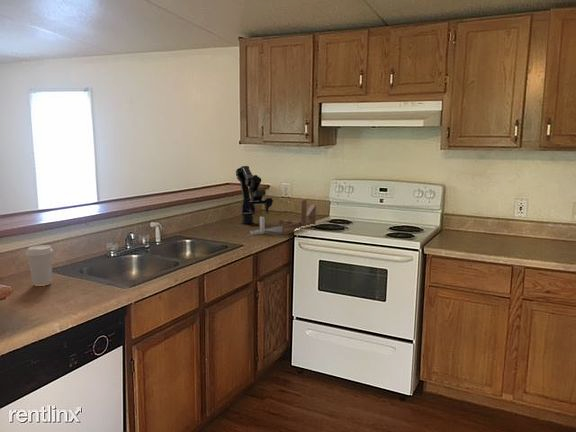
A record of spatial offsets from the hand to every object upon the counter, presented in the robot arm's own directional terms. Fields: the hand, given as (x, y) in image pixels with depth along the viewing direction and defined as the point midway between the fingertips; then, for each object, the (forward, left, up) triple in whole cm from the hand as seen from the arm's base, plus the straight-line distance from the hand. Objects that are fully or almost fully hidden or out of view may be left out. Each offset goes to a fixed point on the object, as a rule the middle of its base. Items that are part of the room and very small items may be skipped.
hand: (260, 213), depth 291 cm
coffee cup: (-7, -131, -12) cm, 132 cm away
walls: (+8, +12, -11) cm, 18 cm away
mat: (+8, +12, -11) cm, 18 cm away
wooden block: (+15, +30, -12) cm, 35 cm away
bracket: (+1, -5, -11) cm, 12 cm away
